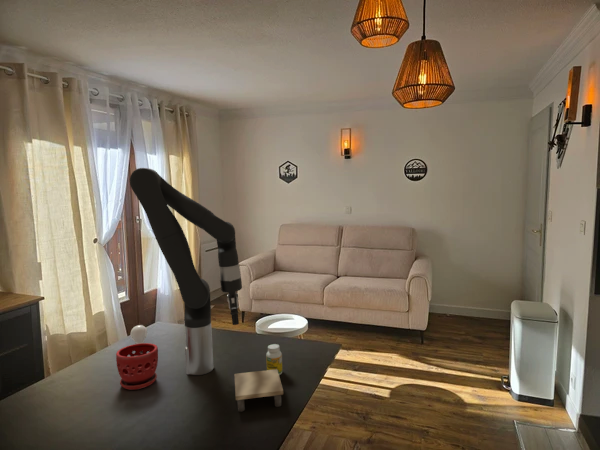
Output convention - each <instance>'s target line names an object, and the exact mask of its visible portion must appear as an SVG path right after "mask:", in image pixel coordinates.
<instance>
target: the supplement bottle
mask: <svg viewBox="0 0 600 450" xmlns="http://www.w3.org/2000/svg"><path fill="white" fill-rule="evenodd" d="M265 357H266V358H265V359H266V361H265V362H266V370H274V369H277V371H278V374H279V376H280V375H282V374H283V353H282V352H281V349H280V345H279V344H278V343H277V344H276V343H273V344H270V345H268V346H267V352H266V354H265Z"/></svg>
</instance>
